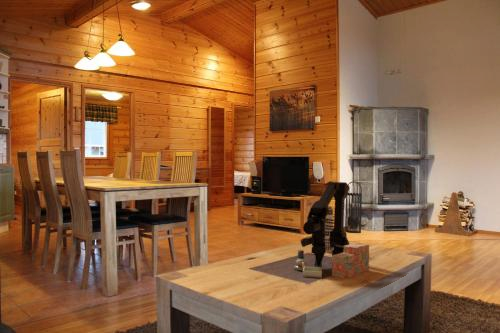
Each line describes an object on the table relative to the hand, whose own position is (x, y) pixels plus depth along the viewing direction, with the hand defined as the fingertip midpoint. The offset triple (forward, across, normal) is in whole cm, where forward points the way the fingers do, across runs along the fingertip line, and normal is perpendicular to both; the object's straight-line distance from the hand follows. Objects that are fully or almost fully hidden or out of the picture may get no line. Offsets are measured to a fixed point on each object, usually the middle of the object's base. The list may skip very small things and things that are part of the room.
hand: (318, 264), depth 203 cm
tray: (+2, +10, -2) cm, 11 cm away
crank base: (+2, +2, -8) cm, 9 cm away
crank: (0, -1, -8) cm, 9 cm away
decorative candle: (+2, -42, +4) cm, 43 cm away
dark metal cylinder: (+2, 0, 0) cm, 2 cm away
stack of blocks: (+2, +4, +15) cm, 15 cm away
